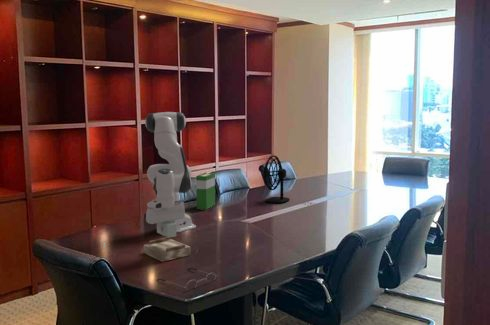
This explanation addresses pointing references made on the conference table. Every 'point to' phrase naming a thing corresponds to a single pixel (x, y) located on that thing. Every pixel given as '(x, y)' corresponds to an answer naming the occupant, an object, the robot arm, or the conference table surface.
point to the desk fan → (280, 174)
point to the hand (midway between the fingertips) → (166, 230)
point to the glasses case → (167, 229)
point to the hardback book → (205, 190)
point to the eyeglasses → (191, 280)
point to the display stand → (166, 249)
